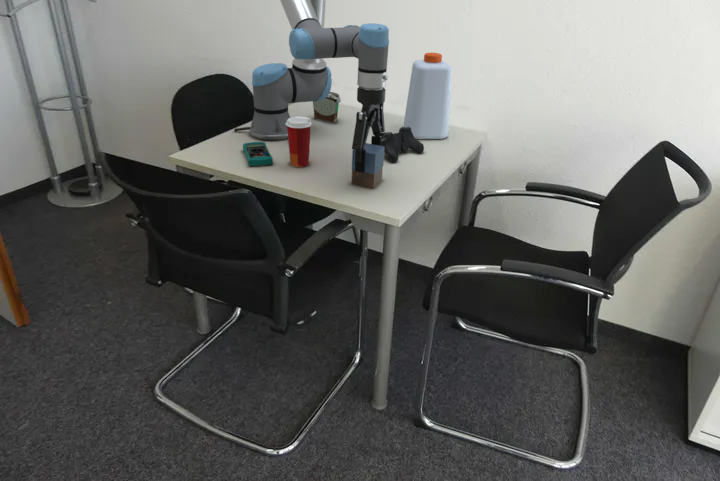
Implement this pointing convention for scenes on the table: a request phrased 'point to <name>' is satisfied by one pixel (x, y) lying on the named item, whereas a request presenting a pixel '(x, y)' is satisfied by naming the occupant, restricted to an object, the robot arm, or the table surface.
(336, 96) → the food container
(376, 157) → the slate block
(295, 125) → the paper cup
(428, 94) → the plastic bottle
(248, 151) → the digital multimeter
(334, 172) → the table surface
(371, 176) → the walnut block
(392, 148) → the game controller
